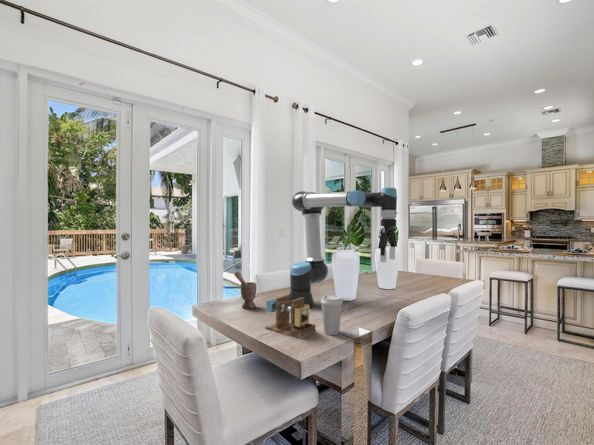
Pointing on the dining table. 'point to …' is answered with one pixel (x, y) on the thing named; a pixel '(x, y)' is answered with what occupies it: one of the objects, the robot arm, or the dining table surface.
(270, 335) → the dining table surface
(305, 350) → the dining table surface
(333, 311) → the coffee cup
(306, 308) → the tan wooden piece
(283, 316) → the bracket
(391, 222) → the robot arm
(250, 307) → the mortar and pestle
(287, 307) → the shaft
